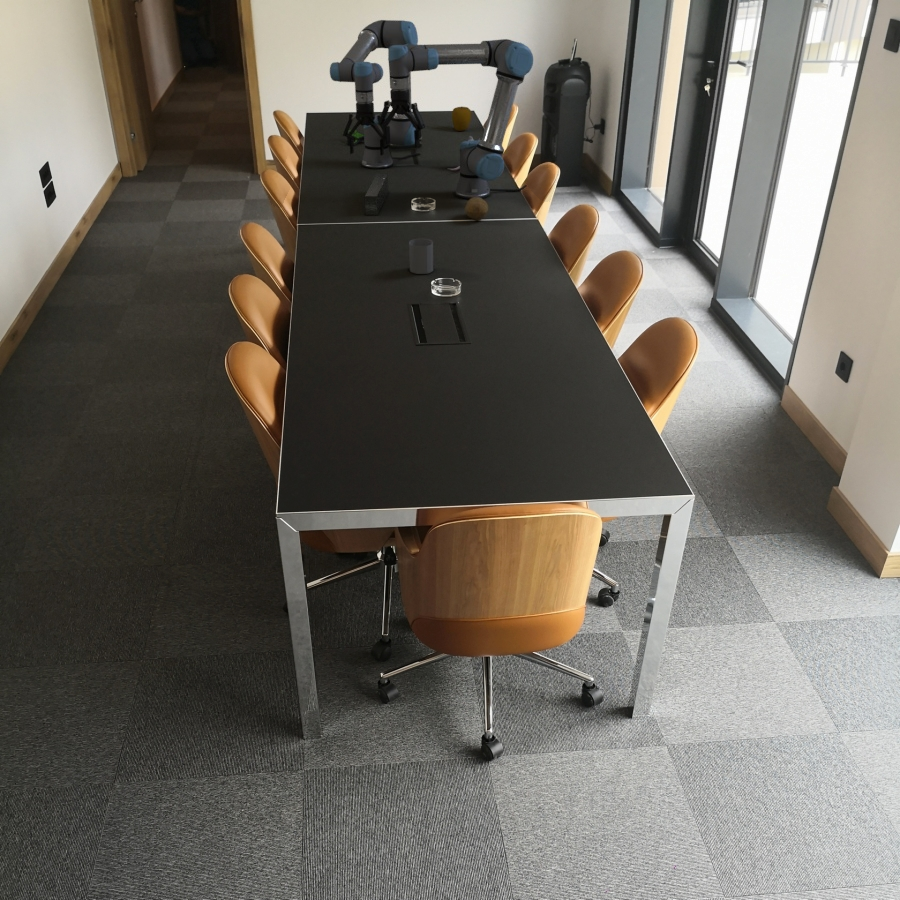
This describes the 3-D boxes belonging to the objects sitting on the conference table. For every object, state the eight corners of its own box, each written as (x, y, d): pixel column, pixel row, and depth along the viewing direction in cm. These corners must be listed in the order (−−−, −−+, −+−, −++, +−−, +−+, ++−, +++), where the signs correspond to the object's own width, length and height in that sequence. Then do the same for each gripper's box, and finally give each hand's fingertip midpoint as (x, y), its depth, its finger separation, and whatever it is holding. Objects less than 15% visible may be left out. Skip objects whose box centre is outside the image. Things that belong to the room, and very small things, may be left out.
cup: (409, 265, 311) (408, 238, 306) (432, 265, 312) (431, 238, 307) (410, 274, 304) (409, 246, 299) (433, 273, 305) (433, 246, 299)
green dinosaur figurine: (396, 126, 467) (340, 124, 465) (396, 141, 460) (339, 139, 458) (396, 136, 472) (341, 134, 470) (396, 151, 465) (340, 149, 463)
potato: (486, 212, 363) (486, 193, 359) (489, 223, 352) (490, 203, 347) (463, 213, 363) (463, 194, 359) (465, 223, 351) (466, 204, 347)
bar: (377, 192, 389) (376, 173, 385) (388, 192, 389) (387, 174, 385) (365, 215, 361) (364, 195, 357) (377, 215, 361) (376, 196, 357)
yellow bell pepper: (471, 132, 486) (471, 108, 479) (451, 132, 486) (451, 108, 479) (470, 128, 495) (471, 104, 488) (452, 128, 495) (452, 104, 488)
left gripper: (333, 102, 365) (336, 154, 376) (391, 105, 360) (392, 157, 372) (339, 99, 371) (342, 150, 382) (395, 101, 367) (396, 153, 378)
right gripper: (367, 88, 340) (371, 144, 351) (423, 93, 330) (425, 150, 342) (377, 85, 345) (380, 140, 357) (432, 89, 336) (434, 145, 347)
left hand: (367, 154), depth 377 cm, fingers open, 13 cm apart
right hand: (402, 145), depth 349 cm, fingers open, 13 cm apart
